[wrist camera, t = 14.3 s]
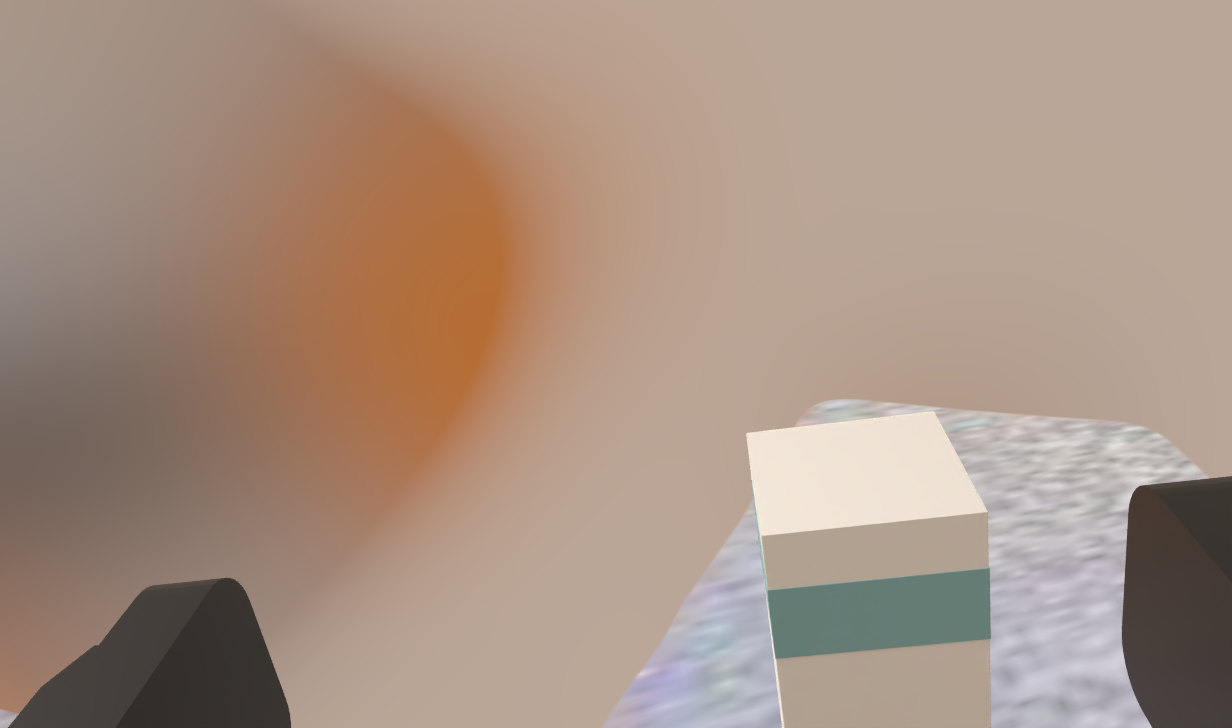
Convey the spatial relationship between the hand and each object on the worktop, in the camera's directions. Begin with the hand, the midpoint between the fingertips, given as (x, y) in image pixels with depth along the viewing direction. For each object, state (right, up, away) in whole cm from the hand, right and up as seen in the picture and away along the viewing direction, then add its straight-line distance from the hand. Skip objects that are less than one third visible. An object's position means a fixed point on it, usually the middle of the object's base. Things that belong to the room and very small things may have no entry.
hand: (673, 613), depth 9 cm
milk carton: (+9, -15, +27) cm, 32 cm away
